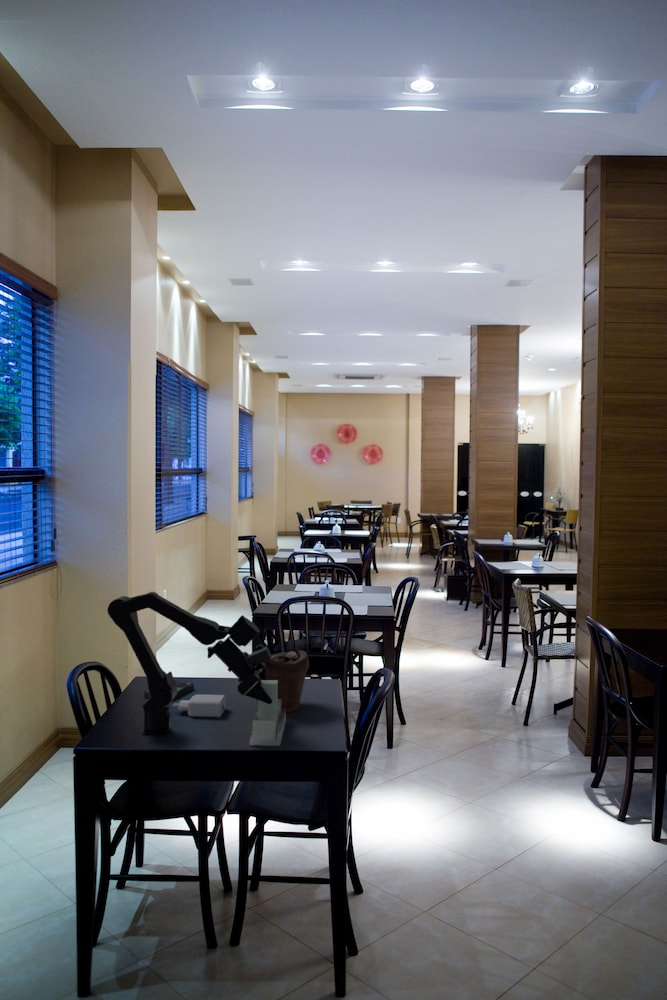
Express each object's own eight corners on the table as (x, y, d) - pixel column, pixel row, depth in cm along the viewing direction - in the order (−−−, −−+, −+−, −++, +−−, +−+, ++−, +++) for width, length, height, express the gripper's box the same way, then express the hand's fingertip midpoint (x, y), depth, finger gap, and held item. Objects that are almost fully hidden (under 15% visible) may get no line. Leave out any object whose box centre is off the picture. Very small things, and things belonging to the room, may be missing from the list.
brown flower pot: (319, 701, 240) (318, 645, 239) (293, 719, 221) (292, 658, 221) (268, 696, 246) (268, 641, 246) (239, 713, 228) (238, 653, 227)
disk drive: (166, 688, 256) (143, 699, 242) (166, 680, 256) (143, 690, 242) (194, 691, 253) (172, 702, 239) (194, 682, 253) (172, 693, 239)
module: (257, 729, 206) (258, 684, 206) (259, 724, 211) (259, 680, 211) (275, 730, 206) (276, 684, 206) (277, 724, 211) (277, 680, 211)
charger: (177, 708, 232) (225, 709, 231) (169, 717, 222) (219, 718, 222) (177, 692, 232) (225, 693, 231) (169, 701, 222) (219, 702, 222)
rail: (249, 745, 198) (249, 720, 198) (258, 720, 219) (258, 698, 219) (280, 745, 198) (280, 721, 198) (285, 721, 219) (286, 698, 219)
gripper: (250, 644, 199) (291, 686, 199) (258, 631, 218) (295, 670, 218) (220, 673, 199) (261, 716, 199) (230, 658, 218) (268, 696, 218)
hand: (272, 698), depth 209 cm, fingers open, 9 cm apart
